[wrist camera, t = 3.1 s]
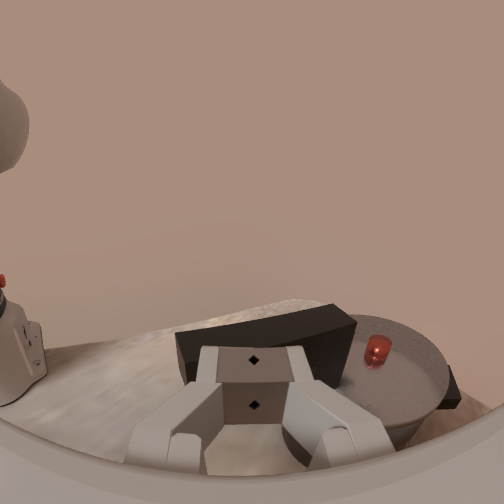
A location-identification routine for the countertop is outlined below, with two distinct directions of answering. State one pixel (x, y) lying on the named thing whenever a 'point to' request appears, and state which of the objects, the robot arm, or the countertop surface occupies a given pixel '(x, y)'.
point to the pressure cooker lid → (343, 358)
